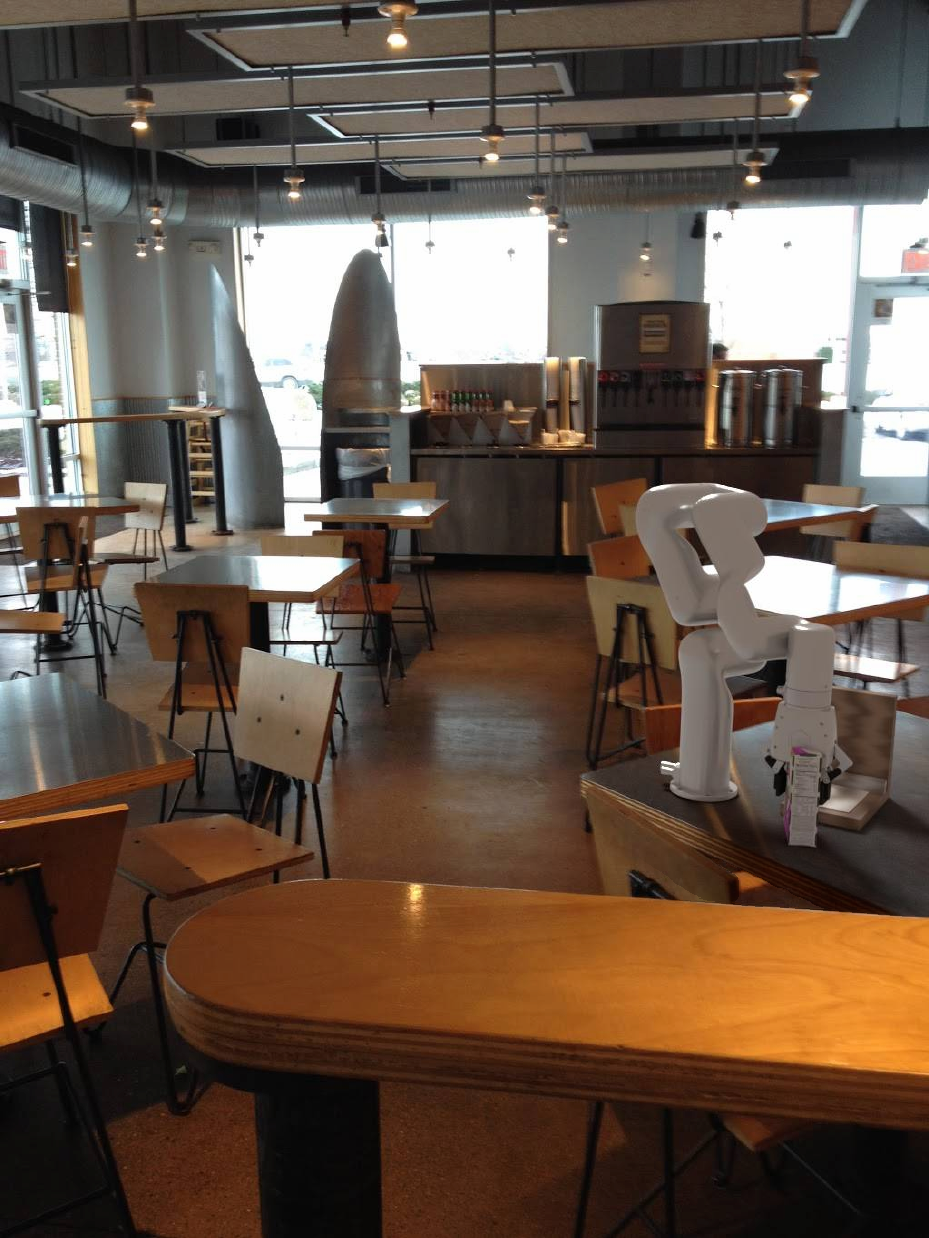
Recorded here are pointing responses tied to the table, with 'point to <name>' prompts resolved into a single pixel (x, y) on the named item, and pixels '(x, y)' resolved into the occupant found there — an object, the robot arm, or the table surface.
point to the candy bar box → (802, 797)
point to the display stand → (860, 756)
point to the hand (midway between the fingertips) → (801, 797)
